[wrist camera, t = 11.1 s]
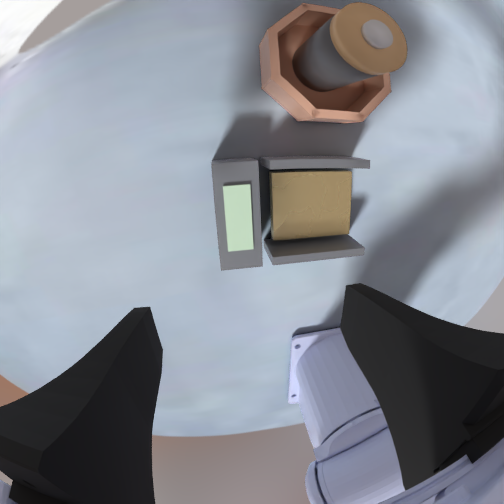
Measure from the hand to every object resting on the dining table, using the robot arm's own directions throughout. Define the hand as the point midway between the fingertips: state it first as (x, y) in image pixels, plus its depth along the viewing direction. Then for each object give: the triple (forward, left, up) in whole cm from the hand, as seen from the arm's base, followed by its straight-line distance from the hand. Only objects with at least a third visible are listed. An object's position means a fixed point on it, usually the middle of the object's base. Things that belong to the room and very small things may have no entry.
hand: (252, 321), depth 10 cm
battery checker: (+2, -3, -9) cm, 10 cm away
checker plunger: (+2, -5, -9) cm, 10 cm away
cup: (+11, -6, -9) cm, 16 cm away
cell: (+11, -6, -9) cm, 15 cm away
